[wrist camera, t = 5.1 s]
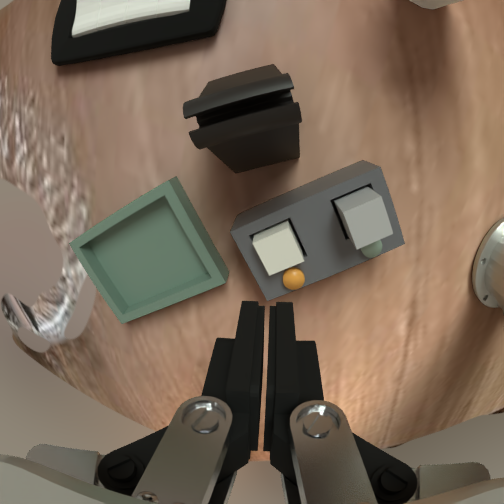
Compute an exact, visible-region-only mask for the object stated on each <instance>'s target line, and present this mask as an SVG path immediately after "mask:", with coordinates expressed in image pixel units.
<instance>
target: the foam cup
mask: <svg viewBox="0 0 504 504" xmlns="http://www.w3.org/2000/svg"><path fill="white" fill-rule="evenodd" d="M410 1H411V2H413V3H415V4H417V5H418V6H420V7H422V8H427V9H433V10H434V9H437V8H440V7H443V6H446V5H449V4H453V3H456V2H459V1H463V0H410Z"/></svg>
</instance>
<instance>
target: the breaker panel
mask: <svg viewBox="0 0 504 504" xmlns="http://www.w3.org/2000/svg"><path fill="white" fill-rule="evenodd" d="M365 187H369V188H370V189H372V190H373V191H375V192H376V193H378V194H379V195H380V196H381V197H382V200H383V203H384V206H385V209H386V212H387V215H388V218H389V221H390V224H391V228H392V231H393V234H392V235H389V236H387V237H385V238H383V239H380V240H378V241H376V242H373V243H371V244H369V245H366V246H364V247H362V248H360V249H356V247H355V246H354V244H353V243H352V241H351V239H350V238H349V236H348V235H347V233H346V230H345V228H344V225H343V223H342V220H341V218H340V215H339V213H338V210H337V208H336V205H335V203H334V200H337V199H339V198H341V197H344V196H346V195H348V194H351V193H353V192H355V191H358V190H360V189H362V188H365ZM288 218H289V220H290V222H291V224H292V226H293V229H294V231H295V233H296V235H297V237H298V240H299V242H300V244H301V248H302V252H303V257H304V262H301V263H299V264H297V265H294V266H292V267H289V268H287V269H284V270H282V271H280V272H277V273H275V274H272V275H270V276H269V274H268V272H267V270H266V268H265V267H264V265H263V263H262V261H261V259H260V257H259V255H258V253H257V251H256V249H255V247H254V245H253V238H254V233H256V232H258V231H260V230H263V229H265V228H267V227H269V226H272V225H274V224H276V223H279V222H281V221H283V220H285V219H288ZM230 233H231V235H232V236H233V238H234V240H235V242H236V244H237V246H238V248H239V249H240V251H241V253H242V255H243V257H244V259H245V261H246V262H247V264H248V266H249V268H250V270H251V272H252V274H253V275H254V277H255V279H256V281H257V283H258V285H259V287H260V288H261V290H262V292H263V294H264V296H265V298H266V299H267V301H269V300H271V299H274V298H276V297H279V296H282V295H284V294H287V293H289V292H292V291H294V290H297V289H300V288H302V287H305V286H307V285H310V284H312V283H314V282H317V281H319V280H322V279H324V278H327V277H329V276H332V275H334V274H336V273H339V272H341V271H344V270H346V269H348V268H351V267H353V266H355V265H358V264H360V263H362V262H365V261H367V260H369V259H372V258H374V257H376V256H379V255H381V254H383V253H385V252H388V251H390V250H392V249H394V248H397V247H399V246H401V245H403V244H405V243H404V239H403V236H402V232H401V228H400V225H399V222H398V218H397V215H396V212H395V208H394V205H393V202H392V199H391V196H390V193H389V190H388V187H387V184H386V181H385V178H384V176H383V173H382V170H381V167H380V166H377V165H375V164H372V163H369V162H367V161H364V160H362V161H359V162H357V163H354V164H352V165H350V166H347V167H345V168H342V169H340V170H338V171H335V172H333V173H331V174H328V175H326V176H324V177H321V178H319V179H317V180H314V181H312V182H310V183H307V184H305V185H303V186H300V187H298V188H296V189H294V190H291V191H289V192H287V193H285V194H282V195H280V196H278V197H276V198H273V199H271V200H269V201H267V202H264V203H262V204H260V205H258V206H256V207H253V208H251V209H249V210H247V211H245V212H243V213H240V214H238V215H237V217H236V219H235V222H234V224H233V226H232V229H231V231H230Z"/></svg>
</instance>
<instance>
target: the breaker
mask: <svg viewBox="0 0 504 504" xmlns="http://www.w3.org/2000/svg"><path fill="white" fill-rule="evenodd" d="M334 203H335V205H336V208H337V210H338V213H339V215H340V218H341V220H342V223H343V225H344V228H345V230H346V233H347V235H348V236H349V238H350V239H351V241H352V243H353V244H354V246H355V247H356V249H360V248H362V247H364V246H366V245H369V244H371V243H373V242H376V241H378V240H380V239H383V238H385V237H387V236H389V235H392V234H393V231H392V228H391V224H390V221H389V218H388V215H387V212H386V209H385V206H384V203H383V200H382V197H381V196H380V195H379V194H378V193H376V192H375V191H373V190H372V189H370V188H369V187H365V188H362V189H360V190H358V191H355V192H353V193H351V194H348V195H346V196H344V197H341V198H339V199H337V200H334Z"/></svg>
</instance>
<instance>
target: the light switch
mask: <svg viewBox="0 0 504 504" xmlns="http://www.w3.org/2000/svg"><path fill="white" fill-rule="evenodd" d="M225 4H226V0H61V3H60V5H59V8H58V12H57V15H56V18H55V23H54V28H53V35H52V47H51V59H52V62H53V64H55V65H58V66H60V65H66V64H73V63H79V62H84V61H90V60H96V59H101V58H106V57H111V56H117V55H122V54H127V53H132V52H137V51H142V50H147V49H152V48H156V47H161V46H166V45H171V44H176V43H182V42H187V41H191V40H196V39H201V38H207V37H211V36H213V35H215V33H216V32H217V30H218V27H219V24H220V20H221V17H222V14H223V11H224V8H225Z"/></svg>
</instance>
